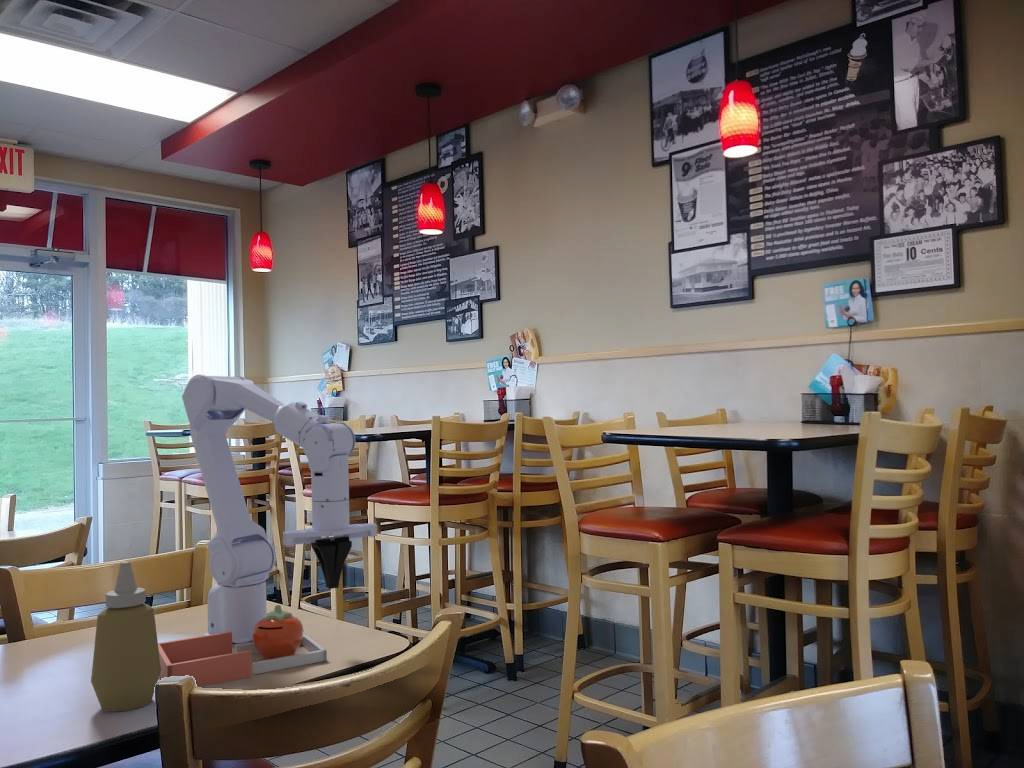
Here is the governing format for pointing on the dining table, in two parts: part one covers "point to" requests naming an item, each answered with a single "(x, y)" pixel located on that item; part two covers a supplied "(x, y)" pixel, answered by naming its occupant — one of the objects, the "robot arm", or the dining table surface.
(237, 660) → the bin
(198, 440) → the robot arm
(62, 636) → the dining table surface
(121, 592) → the squeeze bottle
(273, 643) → the tomato
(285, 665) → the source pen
